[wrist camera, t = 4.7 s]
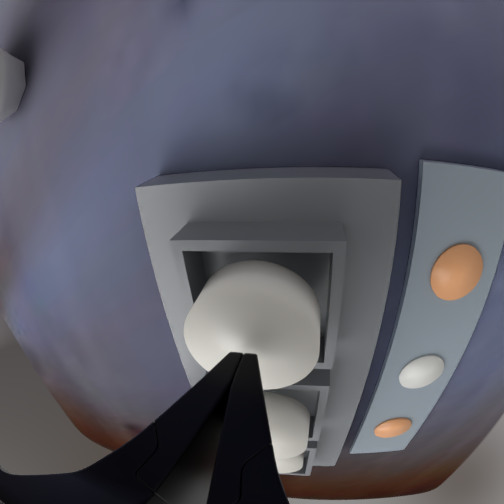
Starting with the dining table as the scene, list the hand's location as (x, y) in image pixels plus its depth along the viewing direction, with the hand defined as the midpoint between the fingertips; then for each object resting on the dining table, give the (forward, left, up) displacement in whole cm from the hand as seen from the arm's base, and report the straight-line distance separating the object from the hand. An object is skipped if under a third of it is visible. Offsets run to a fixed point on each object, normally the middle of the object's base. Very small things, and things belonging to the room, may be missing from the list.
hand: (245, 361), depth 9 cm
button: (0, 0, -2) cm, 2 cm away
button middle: (-7, 0, -2) cm, 7 cm away
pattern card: (-7, -9, -6) cm, 13 cm away
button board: (-7, 0, -6) cm, 9 cm away
